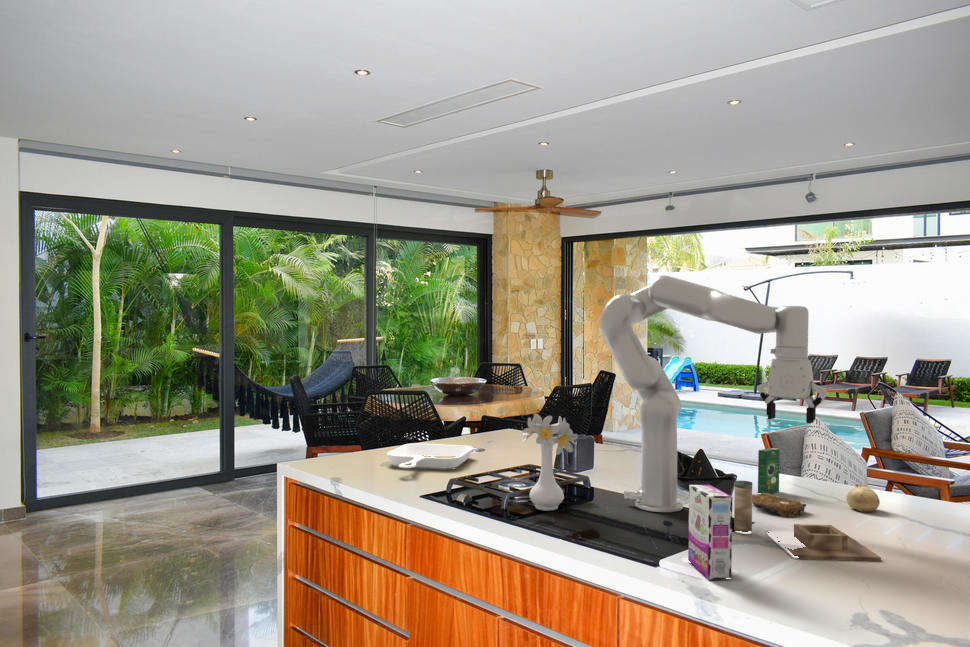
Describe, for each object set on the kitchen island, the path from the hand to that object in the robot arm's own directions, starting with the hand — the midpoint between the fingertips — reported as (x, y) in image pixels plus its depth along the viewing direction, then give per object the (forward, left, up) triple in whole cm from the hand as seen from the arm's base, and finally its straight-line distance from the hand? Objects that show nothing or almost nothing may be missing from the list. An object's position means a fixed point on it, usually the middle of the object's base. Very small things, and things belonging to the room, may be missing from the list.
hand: (790, 420), depth 180 cm
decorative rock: (0, +10, -26) cm, 28 cm away
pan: (-103, +59, -26) cm, 122 cm away
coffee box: (+5, +30, -26) cm, 40 cm away
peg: (-15, -12, -26) cm, 32 cm away
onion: (+24, +12, -26) cm, 37 cm away
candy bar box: (-30, -40, -26) cm, 56 cm away
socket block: (-1, -22, -26) cm, 33 cm away
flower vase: (-61, +6, -26) cm, 67 cm away
